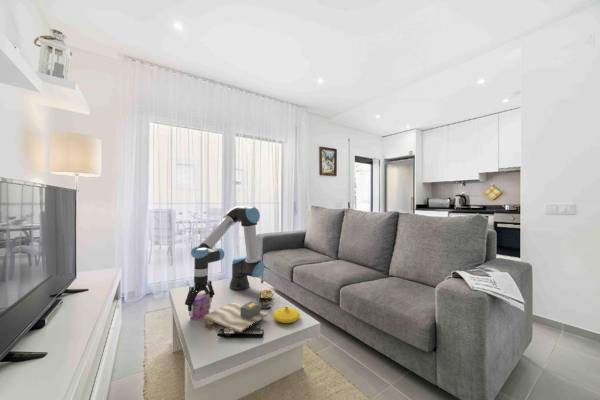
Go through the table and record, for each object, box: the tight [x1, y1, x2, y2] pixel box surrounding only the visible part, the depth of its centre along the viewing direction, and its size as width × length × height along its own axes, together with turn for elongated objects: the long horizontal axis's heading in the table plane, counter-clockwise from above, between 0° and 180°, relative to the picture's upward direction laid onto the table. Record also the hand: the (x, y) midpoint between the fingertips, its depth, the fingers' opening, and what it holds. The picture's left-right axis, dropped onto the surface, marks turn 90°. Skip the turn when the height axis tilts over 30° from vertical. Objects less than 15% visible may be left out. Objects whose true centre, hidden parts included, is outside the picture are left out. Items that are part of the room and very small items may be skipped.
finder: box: [240, 301, 261, 319], centre depth 140 cm, size 9×7×5 cm
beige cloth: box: [203, 302, 269, 333], centre depth 138 cm, size 25×28×4 cm
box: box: [189, 291, 210, 321], centre depth 144 cm, size 10×6×12 cm, turn 168°
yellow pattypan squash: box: [272, 306, 301, 324], centre depth 142 cm, size 16×16×7 cm
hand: (200, 312), depth 144 cm, fingers closed on box, 11 cm apart
